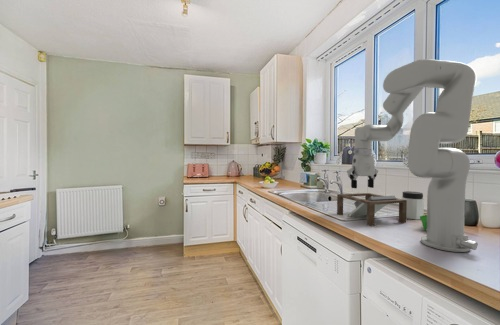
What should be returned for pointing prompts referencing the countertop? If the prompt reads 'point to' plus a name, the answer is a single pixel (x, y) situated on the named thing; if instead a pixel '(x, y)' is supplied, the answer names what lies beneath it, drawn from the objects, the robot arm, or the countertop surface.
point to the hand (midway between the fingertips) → (362, 187)
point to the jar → (414, 204)
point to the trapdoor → (362, 208)
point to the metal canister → (357, 203)
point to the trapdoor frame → (372, 205)
